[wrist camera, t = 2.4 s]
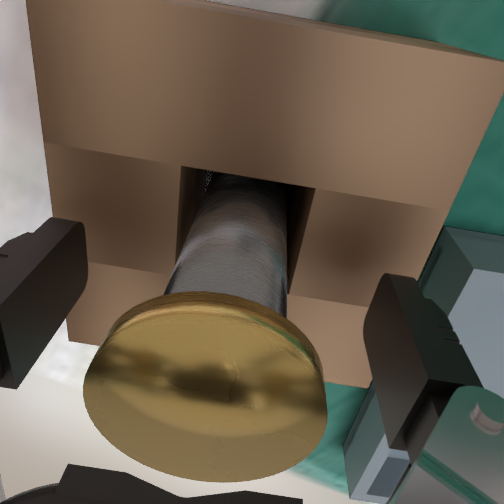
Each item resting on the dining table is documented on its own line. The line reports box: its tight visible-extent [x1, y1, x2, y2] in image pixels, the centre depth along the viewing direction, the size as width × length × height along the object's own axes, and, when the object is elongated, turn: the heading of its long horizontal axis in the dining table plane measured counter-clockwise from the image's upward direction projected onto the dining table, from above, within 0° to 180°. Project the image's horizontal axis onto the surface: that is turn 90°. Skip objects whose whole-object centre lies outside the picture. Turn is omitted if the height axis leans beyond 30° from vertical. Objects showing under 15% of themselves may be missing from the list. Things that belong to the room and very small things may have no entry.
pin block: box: [26, 0, 504, 388], centre depth 15 cm, size 12×12×6 cm
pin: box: [83, 171, 327, 482], centre depth 13 cm, size 4×4×13 cm
